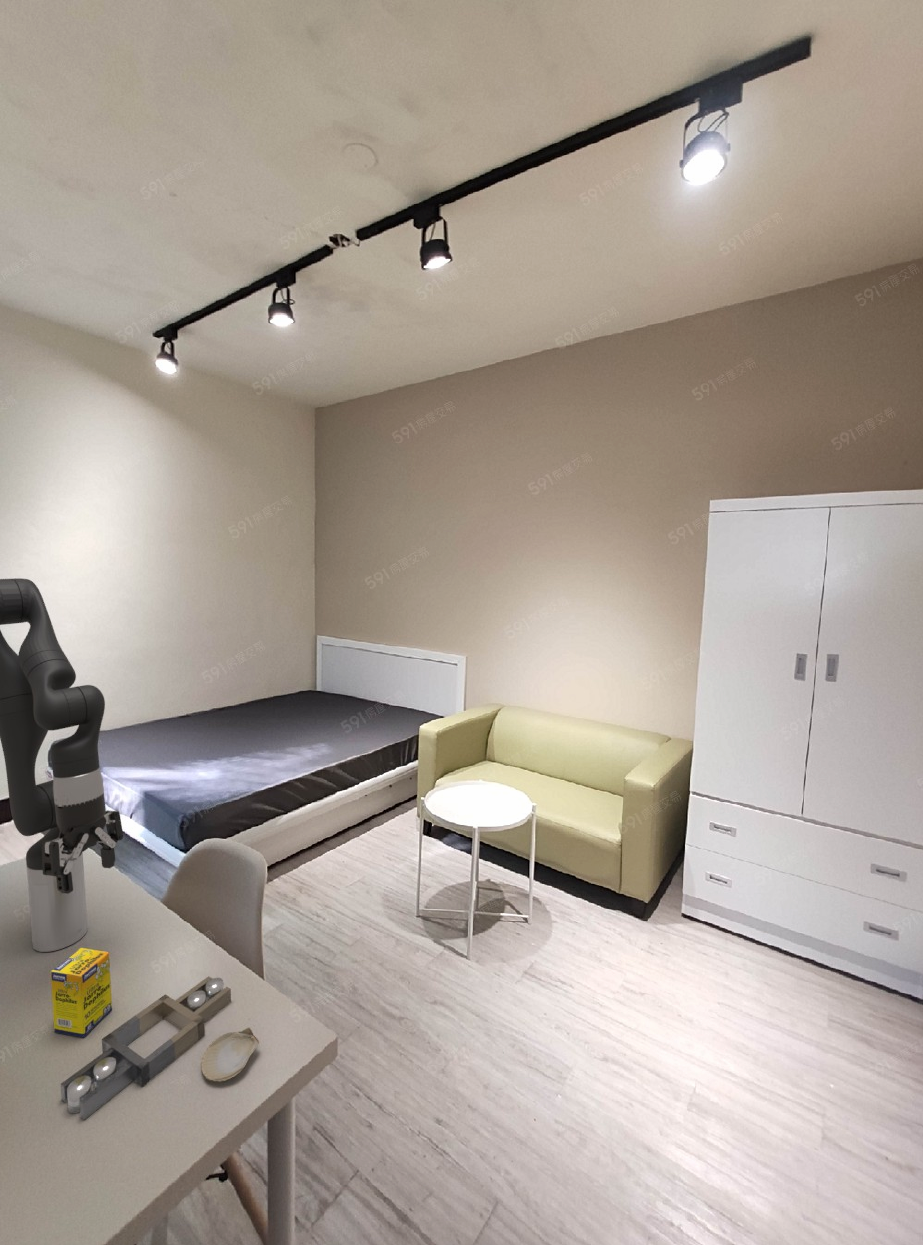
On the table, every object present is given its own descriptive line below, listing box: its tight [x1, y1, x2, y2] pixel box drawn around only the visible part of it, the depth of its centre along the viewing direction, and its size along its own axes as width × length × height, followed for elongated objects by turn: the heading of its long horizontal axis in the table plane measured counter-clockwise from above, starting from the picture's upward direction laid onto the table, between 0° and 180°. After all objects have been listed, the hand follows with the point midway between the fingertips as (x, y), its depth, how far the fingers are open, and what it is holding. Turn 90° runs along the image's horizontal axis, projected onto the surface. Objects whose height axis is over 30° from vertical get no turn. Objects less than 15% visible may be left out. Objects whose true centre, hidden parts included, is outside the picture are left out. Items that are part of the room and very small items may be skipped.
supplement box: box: [50, 947, 113, 1039], centre depth 92 cm, size 6×6×11 cm
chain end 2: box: [134, 976, 232, 1061], centre depth 93 cm, size 10×12×3 cm
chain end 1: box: [60, 1015, 176, 1121], centre depth 83 cm, size 10×12×3 cm
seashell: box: [200, 1027, 260, 1083], centre depth 85 cm, size 8×3×8 cm
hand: (88, 879), depth 102 cm, fingers open, 8 cm apart
